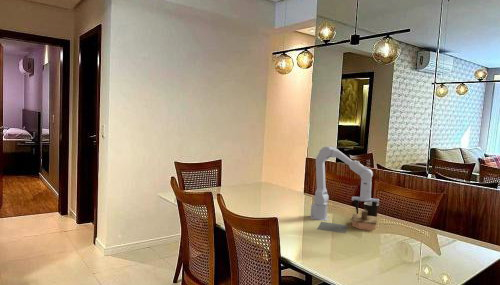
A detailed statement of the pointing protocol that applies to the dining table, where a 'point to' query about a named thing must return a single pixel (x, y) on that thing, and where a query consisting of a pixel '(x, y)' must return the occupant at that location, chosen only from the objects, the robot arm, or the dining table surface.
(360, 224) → the bowl
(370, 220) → the lid
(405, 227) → the dining table surface
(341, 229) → the mat
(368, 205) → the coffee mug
